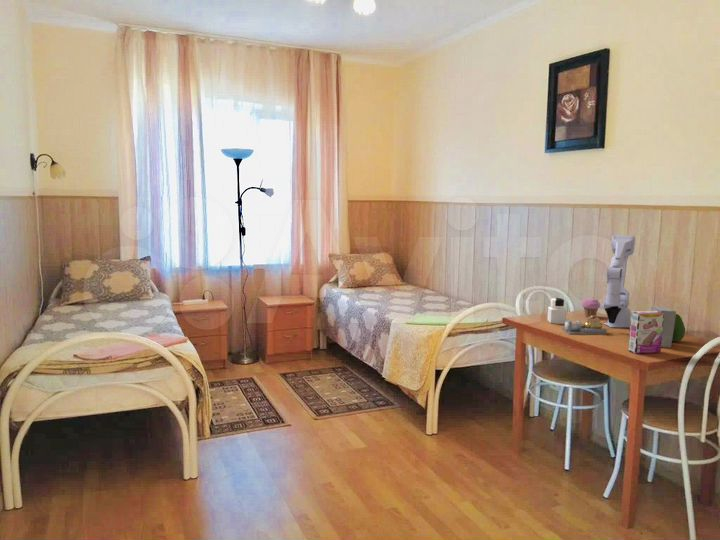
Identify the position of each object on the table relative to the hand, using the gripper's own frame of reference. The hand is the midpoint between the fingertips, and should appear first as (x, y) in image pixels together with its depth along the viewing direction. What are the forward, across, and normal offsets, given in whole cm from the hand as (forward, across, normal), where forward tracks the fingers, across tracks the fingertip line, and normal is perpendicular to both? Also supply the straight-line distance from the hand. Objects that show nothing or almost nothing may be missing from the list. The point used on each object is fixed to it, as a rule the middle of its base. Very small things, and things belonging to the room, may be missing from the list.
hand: (611, 322), depth 249 cm
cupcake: (+4, -18, -27) cm, 33 cm away
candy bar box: (+5, +17, +28) cm, 33 cm away
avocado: (+4, -10, +23) cm, 26 cm away
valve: (+4, +7, -4) cm, 9 cm away
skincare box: (+5, +1, +24) cm, 25 cm away
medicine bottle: (+4, +7, -26) cm, 27 cm away
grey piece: (+4, +11, -6) cm, 13 cm away
